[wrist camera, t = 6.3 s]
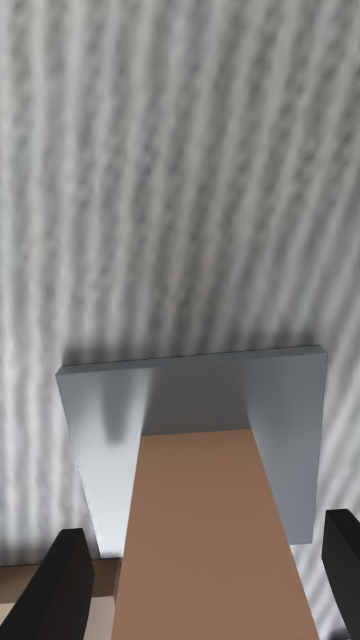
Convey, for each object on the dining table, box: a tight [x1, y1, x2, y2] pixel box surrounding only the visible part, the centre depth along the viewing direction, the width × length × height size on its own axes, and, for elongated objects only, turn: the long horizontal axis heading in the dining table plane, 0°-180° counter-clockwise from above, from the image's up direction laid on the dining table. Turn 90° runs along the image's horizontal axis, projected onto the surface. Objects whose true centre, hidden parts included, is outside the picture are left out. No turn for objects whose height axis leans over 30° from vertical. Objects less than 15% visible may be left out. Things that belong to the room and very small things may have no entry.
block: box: [111, 429, 320, 640], centre depth 10 cm, size 4×4×6 cm
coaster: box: [55, 345, 327, 558], centre depth 13 cm, size 9×9×1 cm
